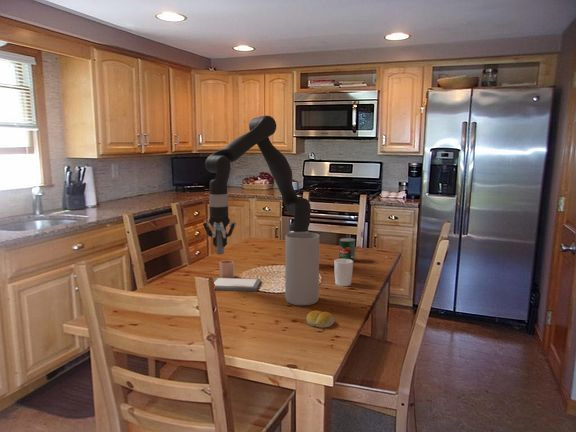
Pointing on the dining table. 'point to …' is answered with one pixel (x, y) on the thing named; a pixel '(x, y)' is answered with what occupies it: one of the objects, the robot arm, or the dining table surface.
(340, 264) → the white cup
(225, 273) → the pen cup
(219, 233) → the marker
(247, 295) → the dining table surface
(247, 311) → the dining table surface
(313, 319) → the bread roll
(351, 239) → the canned tomato
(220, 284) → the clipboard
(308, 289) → the cylinder vase
